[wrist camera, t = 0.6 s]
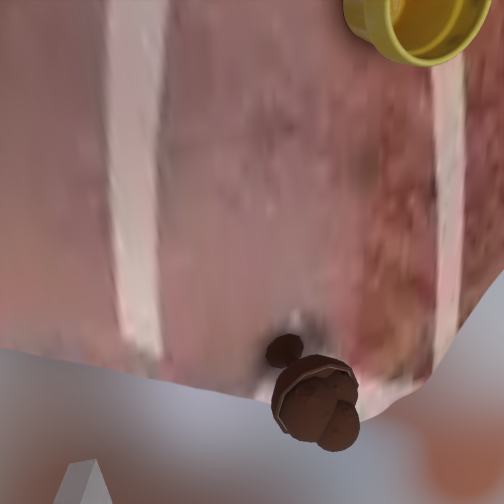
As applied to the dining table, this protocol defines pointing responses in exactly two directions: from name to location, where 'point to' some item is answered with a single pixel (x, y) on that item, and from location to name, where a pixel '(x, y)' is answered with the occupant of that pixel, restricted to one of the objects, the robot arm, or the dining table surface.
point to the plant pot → (417, 27)
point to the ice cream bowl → (313, 396)
